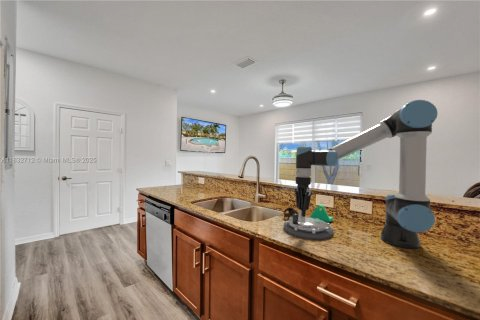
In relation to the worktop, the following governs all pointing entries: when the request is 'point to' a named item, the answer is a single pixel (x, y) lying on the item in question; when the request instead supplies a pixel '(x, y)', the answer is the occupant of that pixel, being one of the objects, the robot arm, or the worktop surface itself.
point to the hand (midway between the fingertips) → (302, 222)
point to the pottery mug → (290, 212)
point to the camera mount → (321, 214)
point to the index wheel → (308, 225)
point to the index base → (309, 235)
